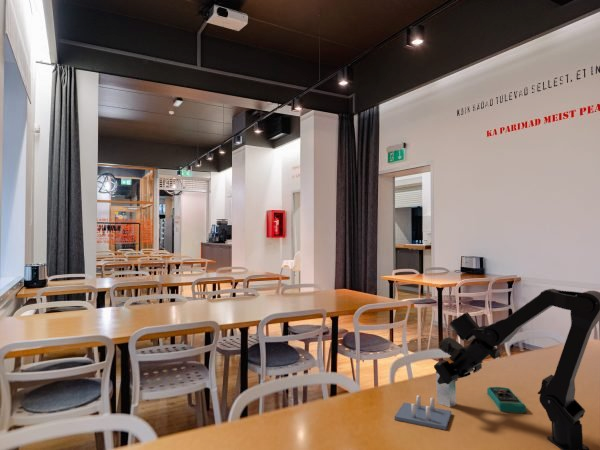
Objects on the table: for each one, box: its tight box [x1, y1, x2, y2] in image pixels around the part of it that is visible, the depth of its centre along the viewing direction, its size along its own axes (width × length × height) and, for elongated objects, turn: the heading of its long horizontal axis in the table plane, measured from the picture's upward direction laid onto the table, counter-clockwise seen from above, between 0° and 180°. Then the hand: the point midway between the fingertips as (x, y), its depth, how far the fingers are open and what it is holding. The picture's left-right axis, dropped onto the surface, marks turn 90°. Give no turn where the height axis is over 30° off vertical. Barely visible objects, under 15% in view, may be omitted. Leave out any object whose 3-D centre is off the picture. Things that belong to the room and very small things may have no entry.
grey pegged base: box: [394, 394, 452, 431], centre depth 115 cm, size 14×11×4 cm
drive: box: [435, 370, 457, 408], centre depth 124 cm, size 4×4×10 cm
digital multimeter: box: [486, 386, 527, 414], centre depth 125 cm, size 7×15×3 cm, turn 170°
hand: (441, 381), depth 126 cm, fingers closed on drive, 3 cm apart
